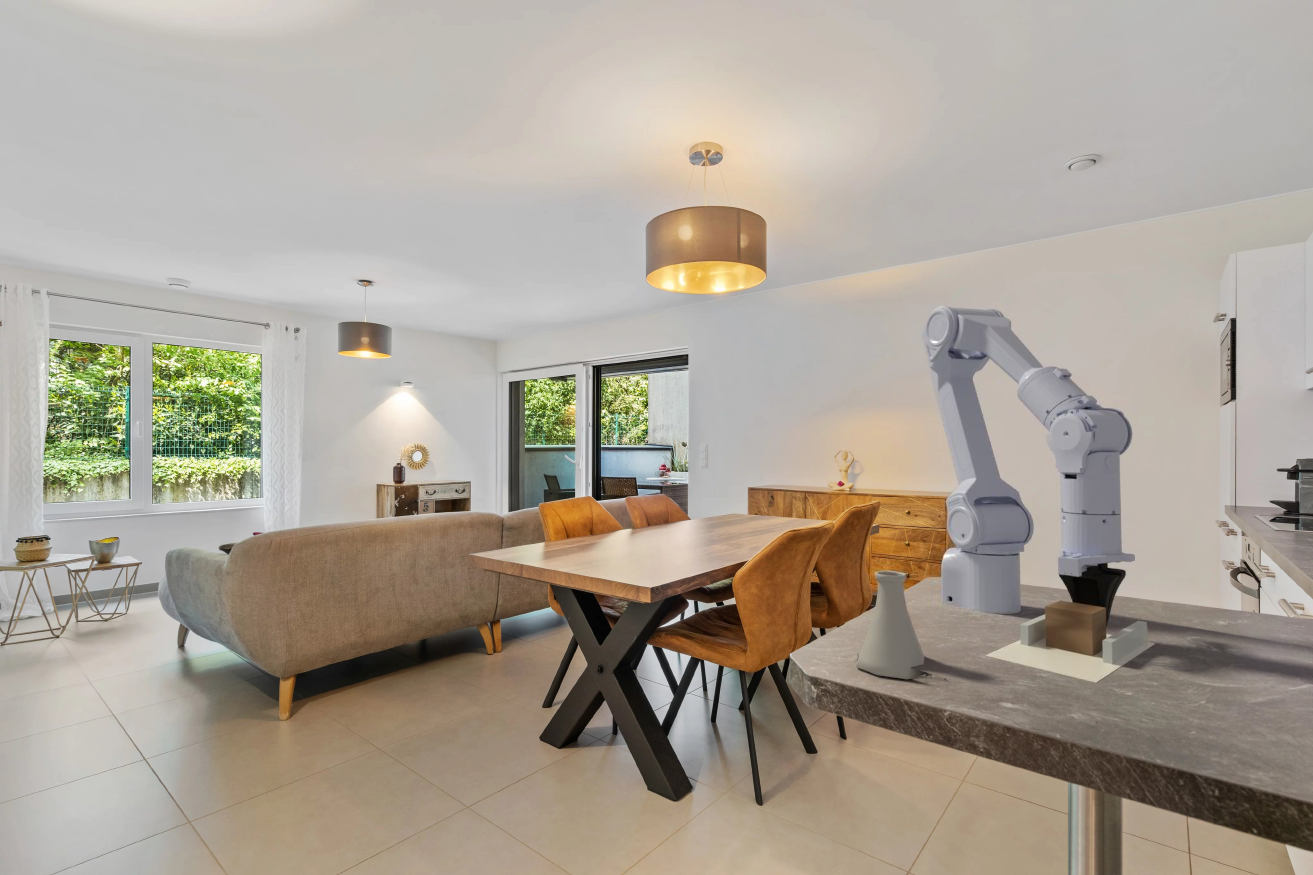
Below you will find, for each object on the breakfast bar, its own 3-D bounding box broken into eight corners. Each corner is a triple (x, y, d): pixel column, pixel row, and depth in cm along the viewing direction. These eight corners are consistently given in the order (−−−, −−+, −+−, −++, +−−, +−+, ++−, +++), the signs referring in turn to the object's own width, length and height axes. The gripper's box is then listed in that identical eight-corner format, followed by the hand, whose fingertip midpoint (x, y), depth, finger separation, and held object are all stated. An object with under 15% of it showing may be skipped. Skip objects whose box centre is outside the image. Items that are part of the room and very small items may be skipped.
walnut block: (1045, 646, 69) (1045, 606, 69) (1061, 638, 72) (1060, 600, 72) (1092, 656, 65) (1091, 614, 66) (1106, 648, 68) (1105, 607, 68)
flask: (843, 669, 65) (842, 573, 66) (873, 653, 71) (872, 564, 71) (913, 686, 61) (912, 583, 61) (939, 667, 66) (938, 572, 66)
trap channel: (985, 666, 66) (984, 634, 66) (1055, 633, 78) (1054, 606, 78) (1096, 695, 58) (1095, 658, 58) (1155, 653, 70) (1154, 623, 70)
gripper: (1110, 519, 64) (1114, 652, 64) (1151, 511, 74) (1154, 627, 73) (1035, 514, 70) (1038, 636, 70) (1082, 507, 79) (1084, 615, 79)
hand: (1092, 631), depth 72 cm, fingers closed
